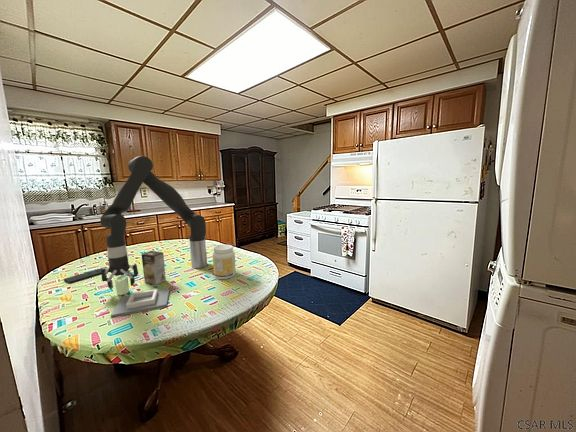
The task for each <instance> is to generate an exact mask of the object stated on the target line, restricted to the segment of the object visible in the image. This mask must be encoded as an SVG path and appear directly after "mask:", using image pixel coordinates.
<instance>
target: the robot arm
mask: <svg viewBox="0 0 576 432" xmlns="http://www.w3.org/2000/svg"><path fill="white" fill-rule="evenodd" d="M127 168H128V170H129V172H130V174H129V177H128V178H127V179H126V181H125V183H123V185H122V186H121V187H120V189H119V190H118V192H117V194H116V196H115V198H114V199H113V201H112V203H111V204H110V206H108V207H107V209H106V210H105V211H104V212H103V213H102V215H101V217H100V220H99V223H100V225H101V226H102V227H103V228H105V229H110V233H109V234H107V235H106V239H105V240H106V246H107V251H106V256H107V258H108V266H109V267H107V268H104V267H102V268H103V269H102V270H101V274H100V275H101V281H102V282H107V287H108V289H110V290H113V288H114V283H113V277H114V276H115V277H119V276H122V275H126V276H127V277H128V278H129V280H130V286H131V287H132V286H134V285H135V283H136V279H135V278H137V276H138V275H139V271H138V265H137V263H134V264H130V263H129V258H128V257H129V256H128V250H127V249H128V248H127V245H126V238H125V235H126V230H127V219H126V218H125V216H124V215H123V213H125V212H128V211H129V210H130V208H131V206H132V204H133V201H134V200H135V197H136V196H137V193H138V192H139V190H140V188H141V187H142V184H144V185H146V186H147V187H148V188H149V189H150V190H151V192H152V193H154V194H155V195H156V196H157V197H158V198H159V199H160V200H161V201H162V203H164V204H165V205H166V206H168V208H170V209H171V210H172V211H173V212H174V213H176V214H177V215H178V216H179V217H180V218H181V219H182V221H183V222H184V223H185V225H187V226H188V227H189V229H190V235H189V239H188V240H189V250H190V261H191V262H190V263H191V268H192V269H202V268H205V267H208V256H207V255H208V254H207V247H206V235H207V229H206V228H207V225H206V218H205V217H204V216H203V215H200V214H199V213H198V214H197V213H196V212H195V211H193V209H191V208H190V207H189V206H188V205H187V203H186V202H185V200H184V198H183V197H182V195H181V194H180V193H179V192H178V191H177V190H176V189H175V188H174V187H173V186H171V185H170V184H169V183H167V182H165V181H163V180H162V179H160V178H158V177H157V176H156V175H155V174H154V173H153V171H152V170H153V168H154V163H153V161H152V159H151V158H149V157H147V156H145V155H139V156H136V157H134V158H133V159H131V160H129V161H128V164H127ZM130 269H131V270H132V271H133V272H132V271H131V270H130ZM108 270H109V271H110V272H108ZM107 273H111V274H110V275H109V276H108V275H107ZM107 276H108V277H107Z"/></svg>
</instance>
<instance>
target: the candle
mask: <svg viewBox="0 0 576 432" xmlns="http://www.w3.org/2000/svg"><path fill="white" fill-rule="evenodd" d="M128 279H129V277H128V276H126V275H125V274H124V275H119V276H117V277H116V278H115V280H114V283H115V291H116V295H118V296H123V295H126V294H128V293H129V292H130V287H129V280H128Z"/></svg>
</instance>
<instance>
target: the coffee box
mask: <svg viewBox="0 0 576 432" xmlns="http://www.w3.org/2000/svg"><path fill="white" fill-rule="evenodd" d="M164 256H165V255H164V252H163V251H155V250H149V251H147V252H144V253H142V254H141V263H142V271H143V272H142V273H143V278H144V283H147V284H152V285H156V286H157V285H159V284H161V283H163V282H165V281H166V279H167V278H166V276H167V275H166V268H165V267H166V266H165V257H164Z"/></svg>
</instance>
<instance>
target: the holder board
mask: <svg viewBox="0 0 576 432" xmlns="http://www.w3.org/2000/svg"><path fill="white" fill-rule="evenodd" d="M169 296H170V288H165V289H158V288H154V289H149V290H144V291H139V292H133V293H131V294H130V295H124V296H123V295H122V296H121V297H120V298H119V300H118V302H117V303H116V305H115V307H114V309H113V310H112V313H110V318H115V317H121V316H125V315H130V314H137V313H141V312H146V311H152V310H155V309H160V308H167V306H168V300H169Z"/></svg>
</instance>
